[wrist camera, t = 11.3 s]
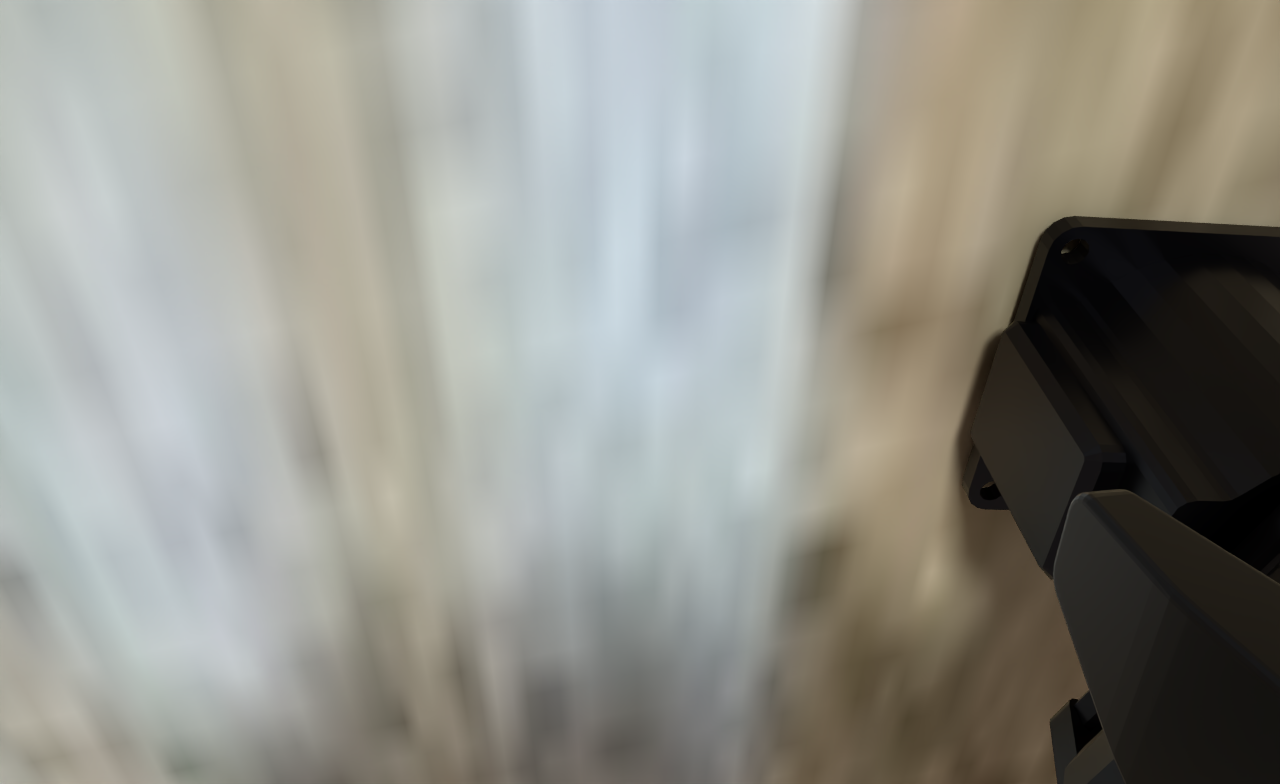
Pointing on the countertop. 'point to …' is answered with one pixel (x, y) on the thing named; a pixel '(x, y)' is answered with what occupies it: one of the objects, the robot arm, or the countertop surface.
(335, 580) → the countertop surface
